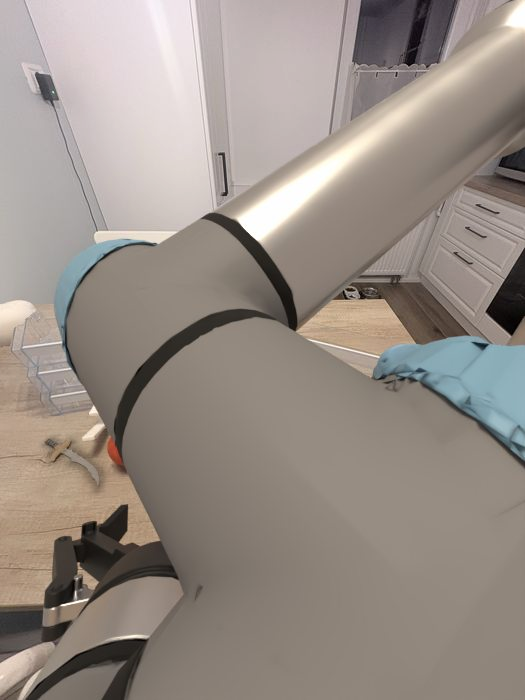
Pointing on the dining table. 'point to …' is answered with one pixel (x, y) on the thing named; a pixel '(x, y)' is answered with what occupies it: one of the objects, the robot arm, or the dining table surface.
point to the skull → (13, 318)
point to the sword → (72, 456)
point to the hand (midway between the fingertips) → (187, 510)
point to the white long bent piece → (96, 429)
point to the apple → (113, 452)
